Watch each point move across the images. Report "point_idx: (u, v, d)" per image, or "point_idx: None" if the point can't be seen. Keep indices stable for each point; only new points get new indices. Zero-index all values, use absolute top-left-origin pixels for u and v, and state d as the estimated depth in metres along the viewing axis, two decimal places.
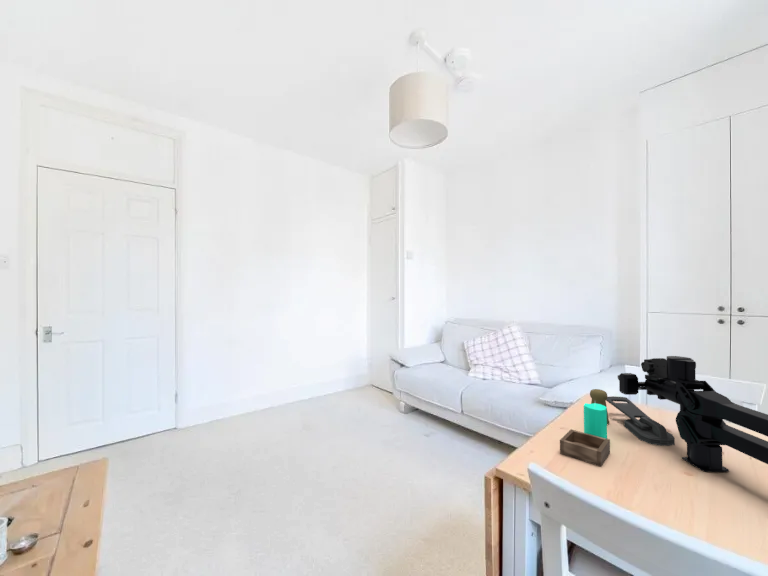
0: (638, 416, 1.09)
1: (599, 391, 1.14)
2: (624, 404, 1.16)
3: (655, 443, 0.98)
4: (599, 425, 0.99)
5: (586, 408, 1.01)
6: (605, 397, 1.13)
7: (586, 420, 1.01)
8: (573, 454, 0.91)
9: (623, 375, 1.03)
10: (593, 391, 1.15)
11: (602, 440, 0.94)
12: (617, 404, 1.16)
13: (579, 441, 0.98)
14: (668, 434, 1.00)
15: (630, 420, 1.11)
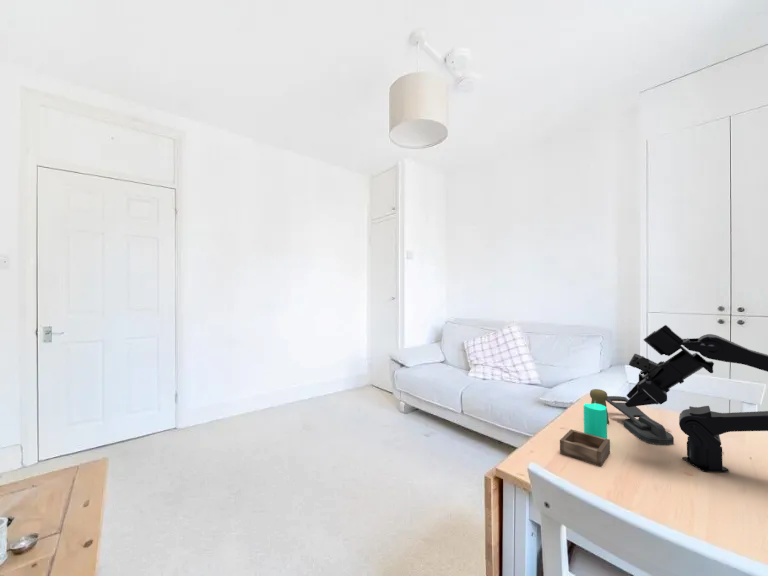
0: (637, 416, 1.09)
1: (599, 391, 1.14)
2: (623, 403, 1.17)
3: (654, 442, 0.98)
4: (599, 425, 0.99)
5: (586, 408, 1.01)
6: (605, 397, 1.13)
7: (586, 420, 1.01)
8: (573, 454, 0.91)
9: (644, 382, 0.87)
10: (593, 391, 1.15)
11: (602, 440, 0.94)
12: (616, 404, 1.17)
13: (579, 441, 0.98)
14: (667, 433, 1.01)
15: (629, 420, 1.11)
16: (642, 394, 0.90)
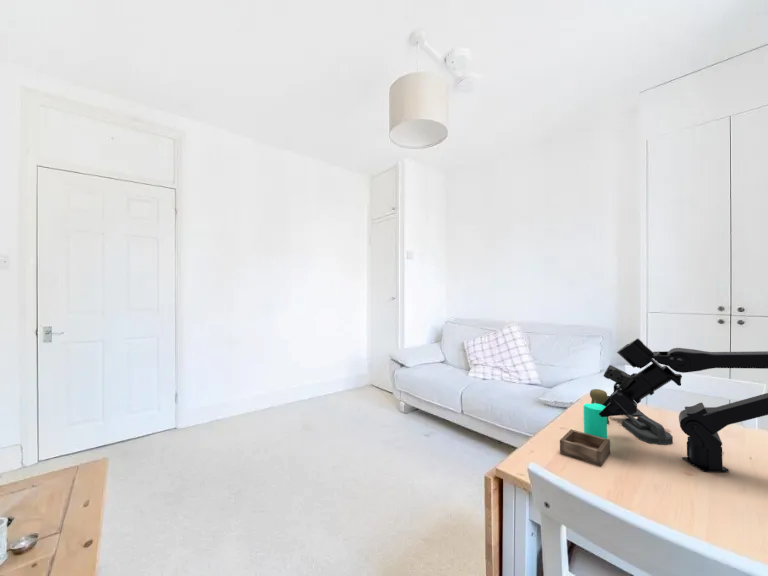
0: (636, 415, 1.10)
1: (599, 391, 1.14)
2: None
3: (654, 442, 0.99)
4: (599, 425, 0.99)
5: (586, 408, 1.01)
6: (605, 397, 1.13)
7: (586, 420, 1.01)
8: (573, 454, 0.91)
9: (616, 394, 0.91)
10: (593, 391, 1.15)
11: (602, 440, 0.94)
12: None
13: (579, 441, 0.98)
14: (666, 433, 1.01)
15: (628, 419, 1.12)
16: (614, 405, 0.94)
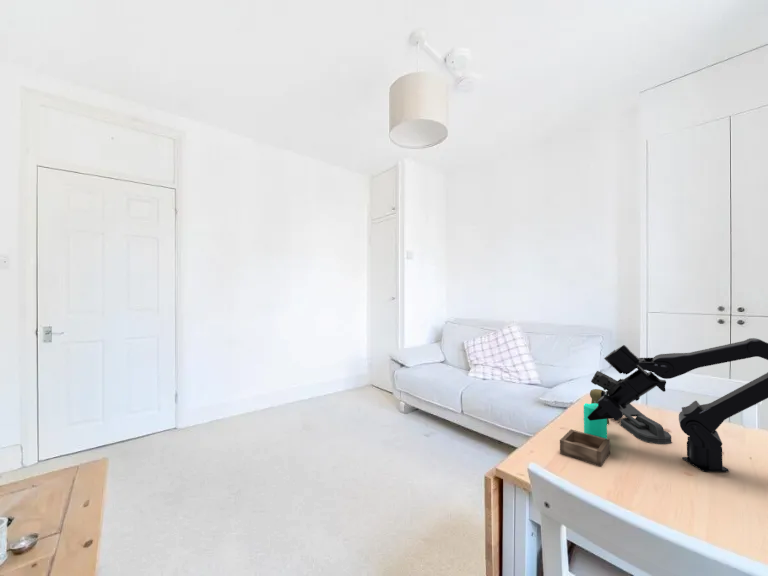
0: (634, 415, 1.10)
1: (599, 391, 1.14)
2: None
3: (653, 442, 0.99)
4: (599, 425, 0.99)
5: (586, 408, 1.01)
6: None
7: (586, 420, 1.01)
8: (573, 454, 0.91)
9: (602, 400, 0.93)
10: (593, 391, 1.15)
11: (602, 440, 0.94)
12: None
13: (579, 441, 0.98)
14: (664, 432, 1.01)
15: (626, 419, 1.12)
16: (602, 409, 0.97)
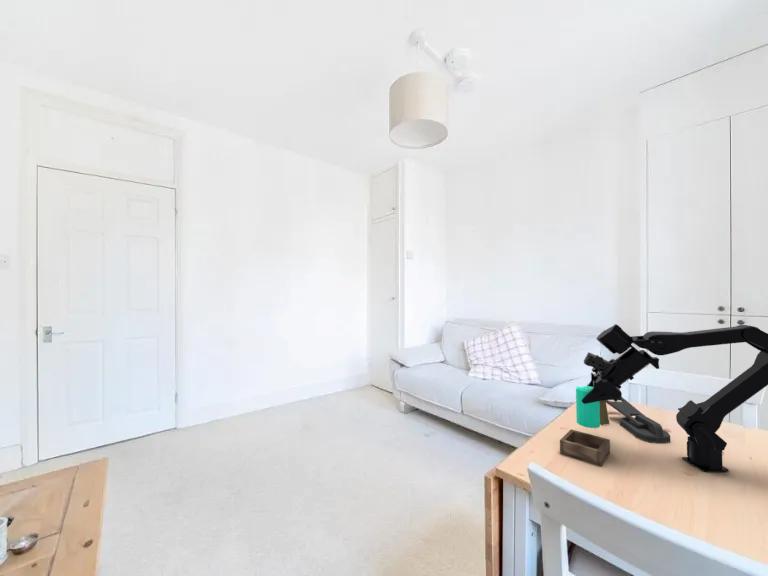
0: (633, 414, 1.11)
1: None
2: (619, 402, 1.18)
3: (652, 441, 0.99)
4: (593, 408, 0.96)
5: (579, 391, 0.98)
6: None
7: (580, 404, 0.98)
8: (573, 454, 0.91)
9: (601, 381, 0.89)
10: None
11: (602, 440, 0.94)
12: (612, 403, 1.18)
13: (579, 441, 0.98)
14: (664, 432, 1.02)
15: (626, 418, 1.12)
16: (597, 390, 0.94)
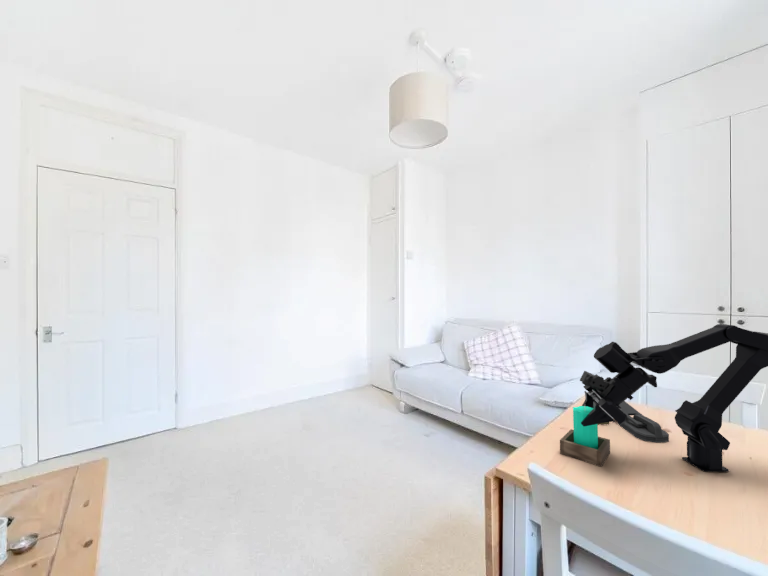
0: (631, 414, 1.11)
1: None
2: None
3: (651, 440, 1.00)
4: (593, 430, 0.91)
5: (578, 413, 0.92)
6: None
7: (578, 426, 0.92)
8: (573, 454, 0.91)
9: (606, 403, 0.84)
10: None
11: (602, 440, 0.94)
12: None
13: None
14: (662, 431, 1.02)
15: None
16: (598, 412, 0.89)
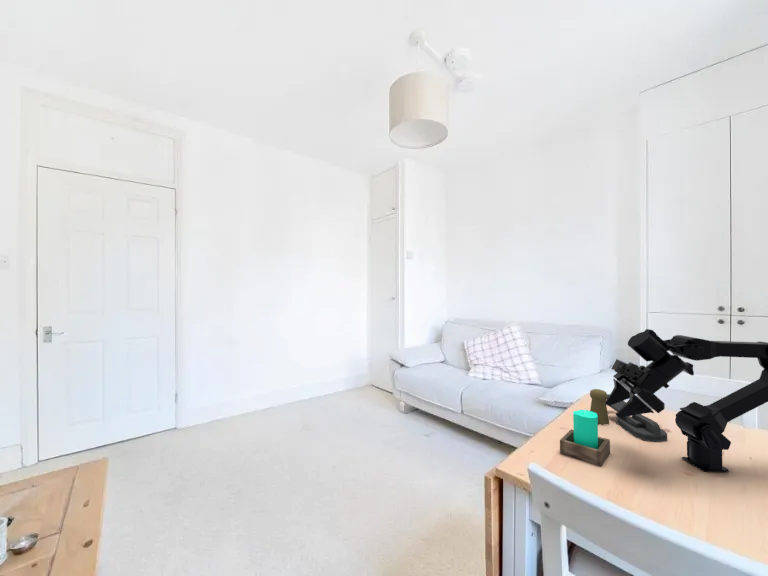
0: None
1: (599, 391, 1.14)
2: None
3: (649, 439, 1.00)
4: (593, 434, 0.91)
5: (579, 417, 0.92)
6: (605, 397, 1.13)
7: (579, 430, 0.92)
8: (573, 454, 0.91)
9: (643, 391, 0.82)
10: (593, 391, 1.15)
11: (602, 440, 0.94)
12: None
13: None
14: (660, 430, 1.03)
15: (622, 417, 1.13)
16: (635, 403, 0.85)
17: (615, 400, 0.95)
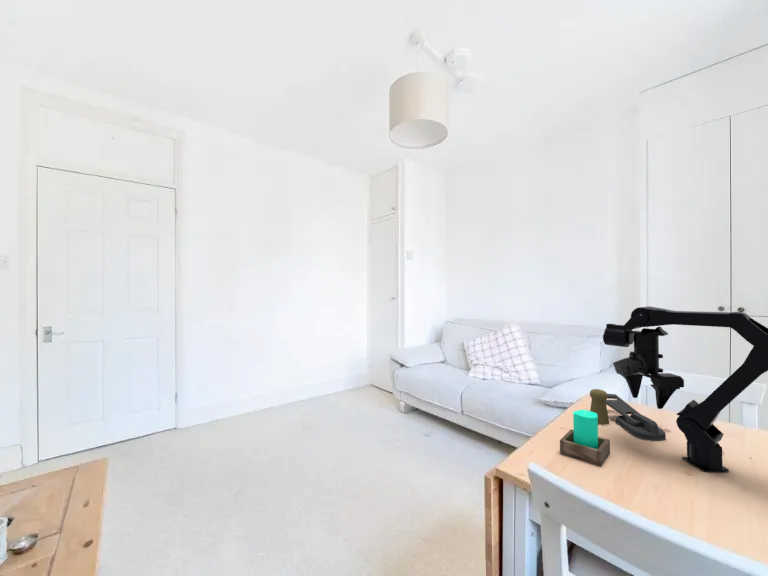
0: (629, 412, 1.12)
1: (599, 391, 1.14)
2: (614, 400, 1.20)
3: (648, 438, 1.01)
4: (593, 434, 0.91)
5: (579, 417, 0.92)
6: (605, 397, 1.13)
7: (579, 430, 0.92)
8: (573, 454, 0.91)
9: (662, 381, 0.88)
10: (593, 391, 1.15)
11: (602, 440, 0.94)
12: (608, 401, 1.19)
13: None
14: (659, 429, 1.04)
15: (621, 416, 1.14)
16: (661, 390, 0.91)
17: (637, 389, 1.01)
